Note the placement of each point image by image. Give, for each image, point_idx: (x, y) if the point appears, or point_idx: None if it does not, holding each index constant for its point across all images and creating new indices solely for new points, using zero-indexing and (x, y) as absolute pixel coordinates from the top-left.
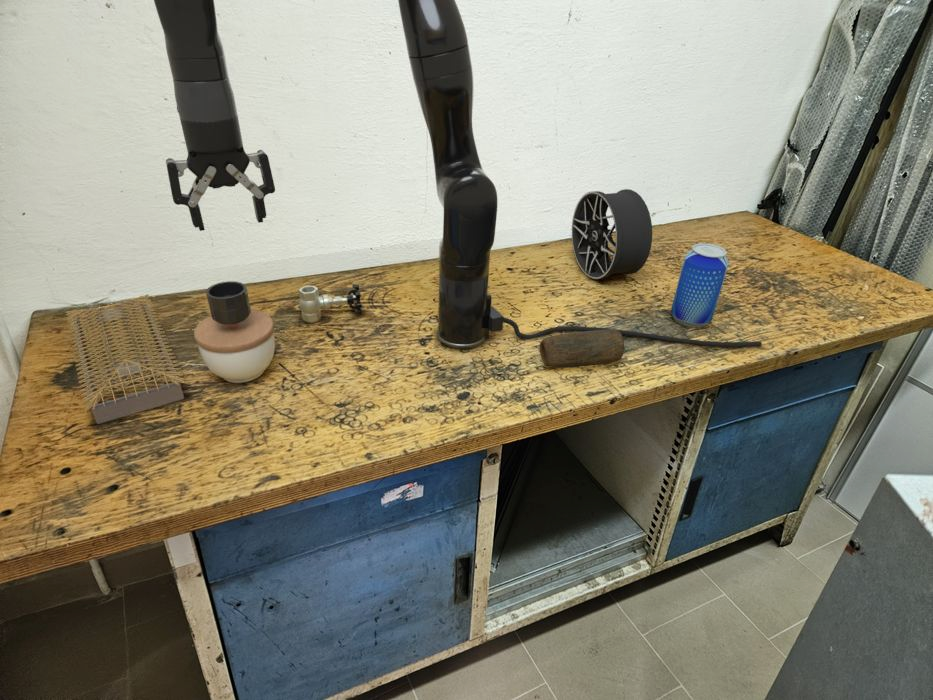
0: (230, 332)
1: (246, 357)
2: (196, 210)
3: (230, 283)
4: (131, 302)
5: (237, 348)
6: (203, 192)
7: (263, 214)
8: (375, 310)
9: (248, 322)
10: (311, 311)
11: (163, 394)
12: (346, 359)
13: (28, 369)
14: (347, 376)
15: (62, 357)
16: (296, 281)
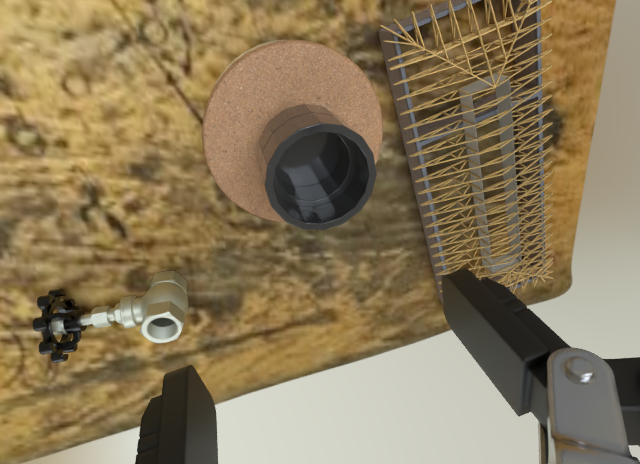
0: None
1: (259, 45)
2: (530, 339)
3: (314, 222)
4: None
5: (279, 41)
6: (565, 459)
7: (157, 414)
8: (29, 312)
9: None
10: (160, 284)
11: (417, 18)
12: (53, 128)
13: (587, 161)
14: (31, 54)
15: (547, 188)
16: (219, 392)
